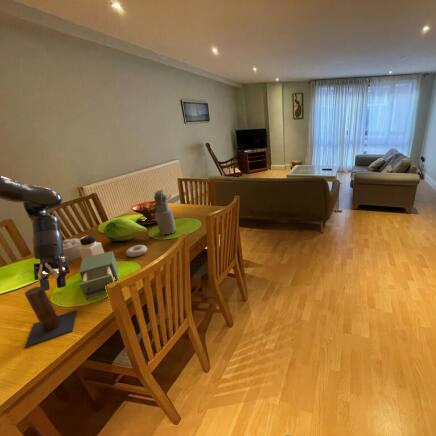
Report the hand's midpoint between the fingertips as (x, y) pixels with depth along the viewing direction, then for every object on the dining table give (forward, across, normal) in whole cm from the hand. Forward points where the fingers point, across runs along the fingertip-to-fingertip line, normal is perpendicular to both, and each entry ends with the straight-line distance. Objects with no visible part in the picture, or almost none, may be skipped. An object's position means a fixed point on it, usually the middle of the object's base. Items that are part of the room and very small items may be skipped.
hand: (53, 289), depth 85 cm
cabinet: (0, -12, +26) cm, 28 cm away
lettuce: (-21, -31, +58) cm, 69 cm away
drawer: (+5, -4, +19) cm, 20 cm away
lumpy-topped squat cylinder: (-15, -46, +35) cm, 60 cm away
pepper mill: (+13, -4, +1) cm, 14 cm away
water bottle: (-21, -13, +72) cm, 76 cm away
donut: (-10, -13, +46) cm, 49 cm away
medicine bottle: (-12, -33, +38) cm, 52 cm away
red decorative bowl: (-34, -35, +85) cm, 99 cm away
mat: (+14, -4, +1) cm, 14 cm away
